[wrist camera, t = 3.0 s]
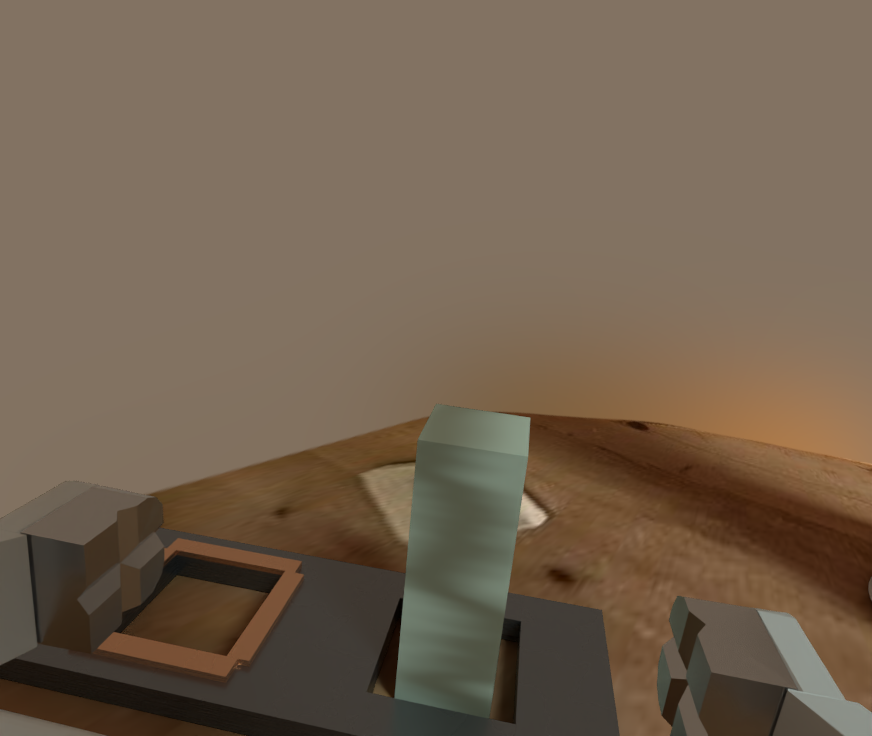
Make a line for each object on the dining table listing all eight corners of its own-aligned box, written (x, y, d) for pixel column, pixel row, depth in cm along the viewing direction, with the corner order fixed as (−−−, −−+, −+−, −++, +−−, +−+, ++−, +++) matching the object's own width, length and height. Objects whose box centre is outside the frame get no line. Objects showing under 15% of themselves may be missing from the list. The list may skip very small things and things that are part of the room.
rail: (597, 629, 31) (602, 605, 30) (621, 822, 21) (629, 790, 21) (132, 540, 34) (130, 517, 34) (-25, 672, 25) (-30, 642, 24)
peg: (495, 652, 29) (530, 417, 25) (488, 722, 25) (528, 456, 21) (413, 636, 29) (436, 403, 26) (393, 702, 25) (417, 439, 22)
